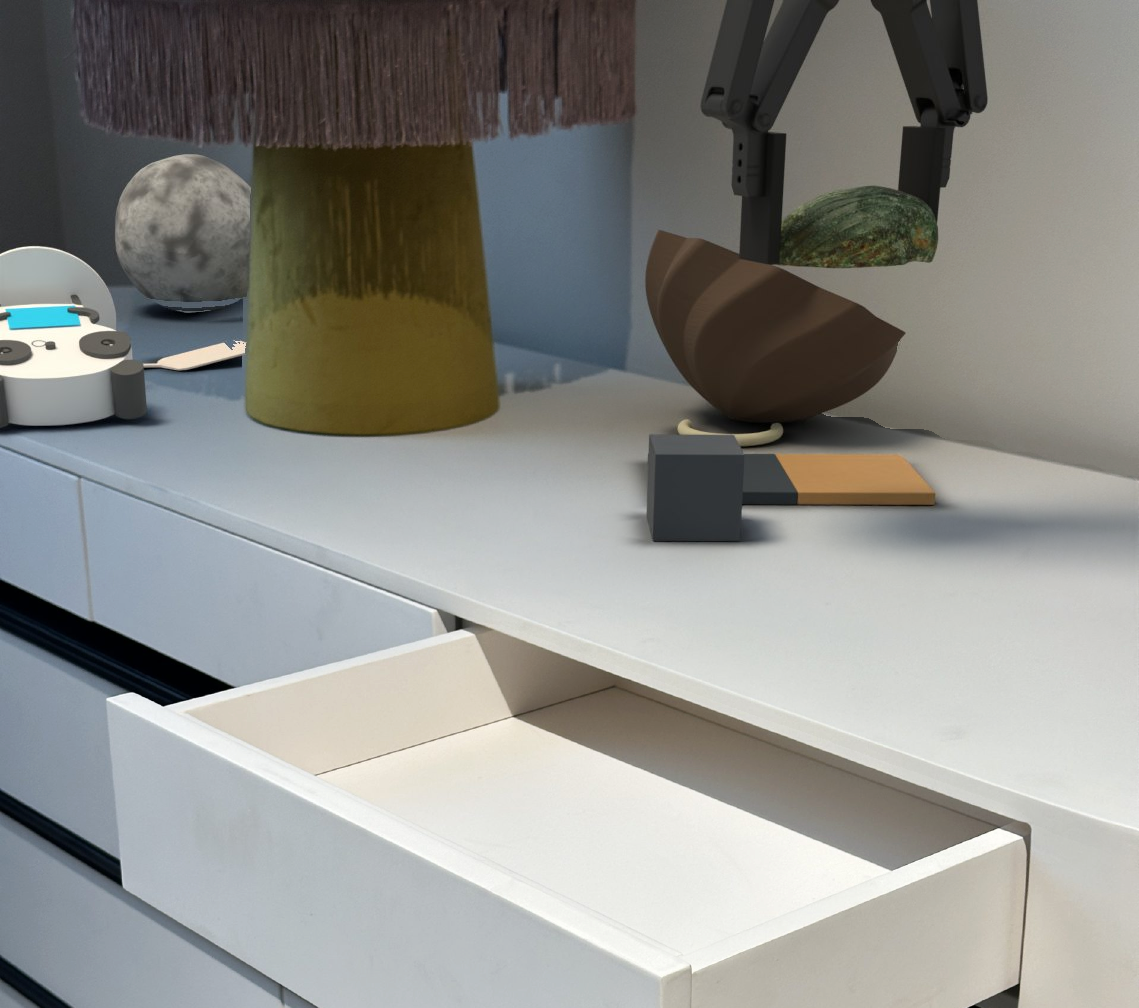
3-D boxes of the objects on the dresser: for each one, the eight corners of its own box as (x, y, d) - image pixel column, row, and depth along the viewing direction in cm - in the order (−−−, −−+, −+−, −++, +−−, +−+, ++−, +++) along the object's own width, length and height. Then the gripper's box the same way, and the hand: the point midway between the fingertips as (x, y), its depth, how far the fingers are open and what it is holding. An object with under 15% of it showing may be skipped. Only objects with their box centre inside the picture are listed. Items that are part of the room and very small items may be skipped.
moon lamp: (175, 138, 153) (249, 120, 166) (51, 208, 160) (131, 187, 173) (252, 291, 157) (319, 263, 170) (128, 354, 164) (201, 322, 177)
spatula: (263, 365, 143) (262, 347, 143) (-98, 394, 129) (-101, 375, 128) (237, 356, 148) (236, 339, 147) (-114, 383, 134) (-117, 364, 133)
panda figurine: (118, 243, 128) (142, 323, 117) (129, 381, 135) (153, 468, 124) (-48, 248, 125) (-39, 331, 114) (-28, 390, 132) (-18, 481, 121)
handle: (780, 449, 116) (783, 433, 121) (780, 437, 116) (784, 421, 121) (672, 445, 118) (679, 429, 122) (672, 433, 117) (679, 417, 122)
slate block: (729, 517, 100) (734, 434, 98) (740, 541, 96) (744, 454, 94) (646, 517, 100) (649, 434, 98) (652, 540, 96) (655, 454, 94)
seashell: (773, 168, 96) (951, 174, 94) (770, 242, 98) (944, 250, 96) (736, 199, 88) (930, 206, 85) (734, 279, 90) (923, 289, 87)
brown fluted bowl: (961, 357, 119) (901, 489, 121) (800, 314, 135) (750, 431, 137) (759, 251, 108) (697, 398, 110) (610, 217, 124) (559, 346, 126)
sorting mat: (900, 465, 113) (901, 454, 112) (934, 505, 104) (935, 492, 103) (647, 464, 112) (647, 452, 112) (659, 504, 103) (659, 491, 103)
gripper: (991, -189, 92) (951, 237, 101) (636, -216, 82) (628, 259, 91) (1091, -203, 86) (1040, 251, 95) (722, -235, 76) (703, 276, 85)
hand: (838, 255), depth 93 cm, fingers closed on seashell, 10 cm apart
